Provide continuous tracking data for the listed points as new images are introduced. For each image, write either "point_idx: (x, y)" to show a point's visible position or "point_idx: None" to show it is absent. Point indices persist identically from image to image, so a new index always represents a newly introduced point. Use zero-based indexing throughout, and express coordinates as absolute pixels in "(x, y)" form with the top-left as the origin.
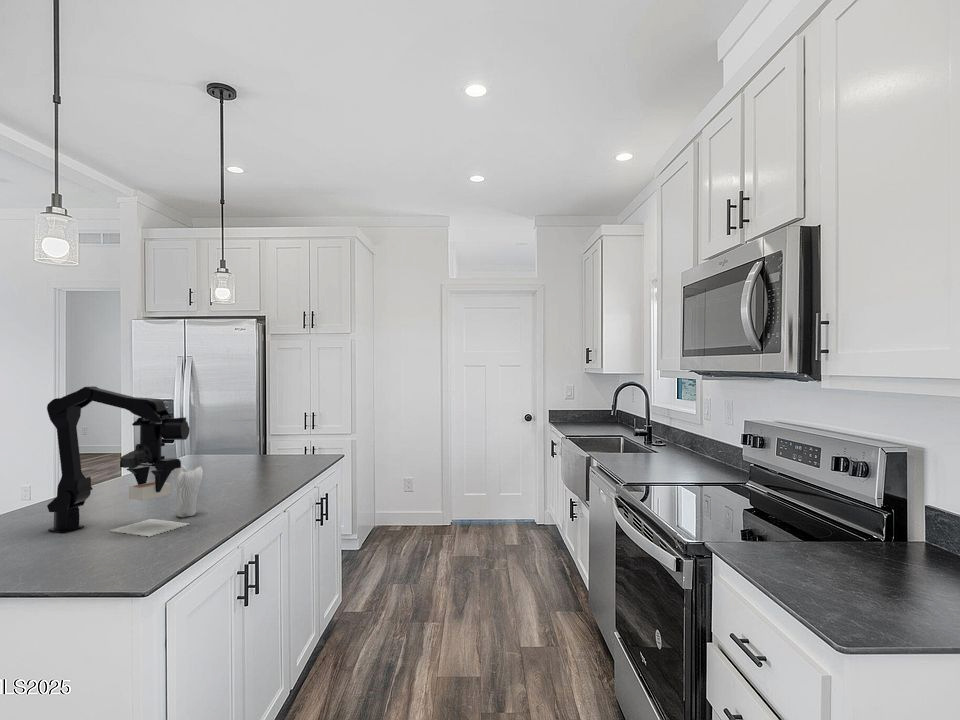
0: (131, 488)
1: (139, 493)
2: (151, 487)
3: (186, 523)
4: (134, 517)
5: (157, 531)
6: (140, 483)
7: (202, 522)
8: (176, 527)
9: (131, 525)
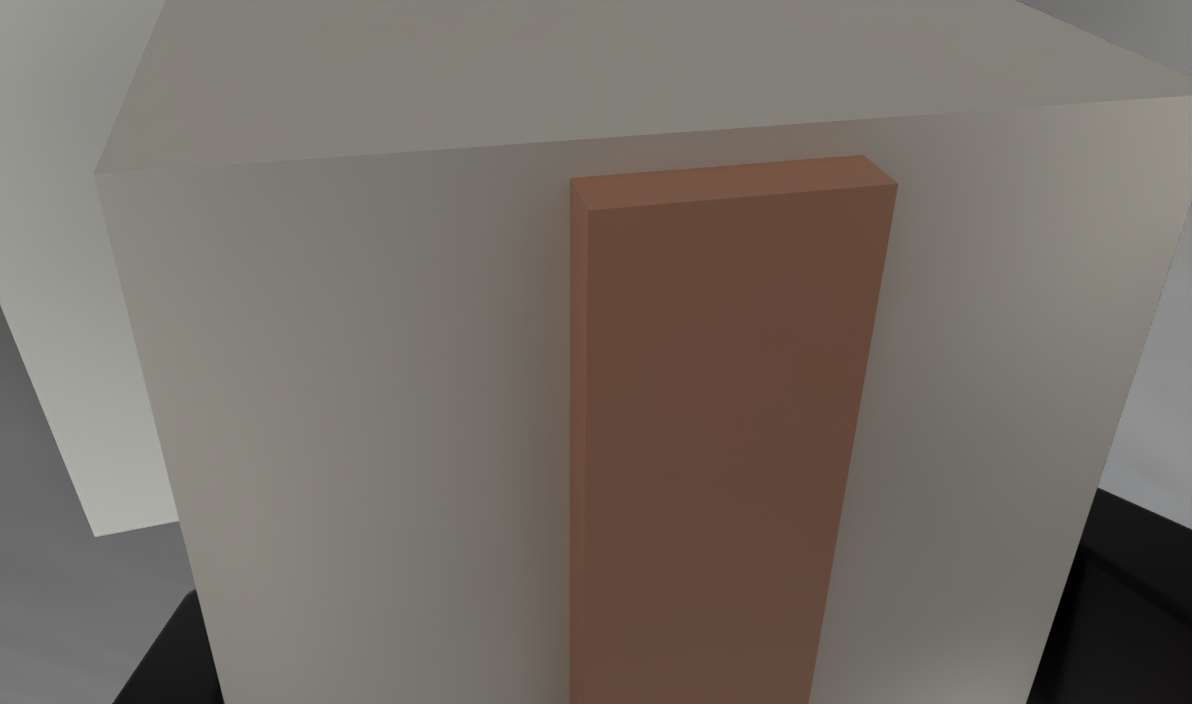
0: (1009, 79)
1: (382, 58)
2: (206, 586)
3: (144, 518)
4: (1151, 345)
5: (13, 17)
6: (1099, 591)
7: (84, 664)
8: (13, 330)
9: None
